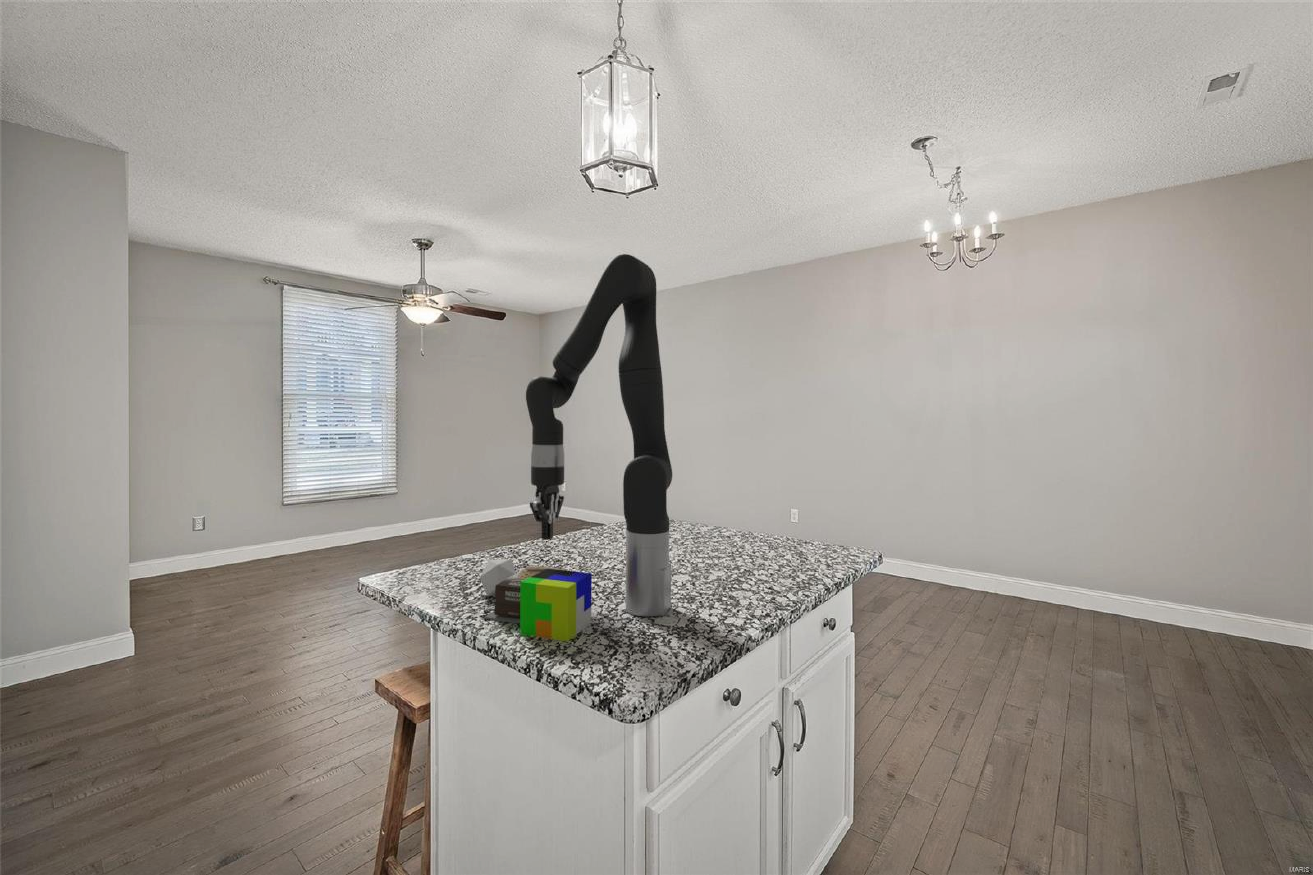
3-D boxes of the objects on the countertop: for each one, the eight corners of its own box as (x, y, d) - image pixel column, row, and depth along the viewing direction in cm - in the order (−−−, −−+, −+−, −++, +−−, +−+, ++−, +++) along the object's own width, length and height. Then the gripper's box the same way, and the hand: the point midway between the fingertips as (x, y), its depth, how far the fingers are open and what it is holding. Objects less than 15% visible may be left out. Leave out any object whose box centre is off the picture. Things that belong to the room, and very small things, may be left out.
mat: (559, 598, 122) (559, 596, 122) (524, 623, 107) (524, 621, 107) (523, 594, 125) (523, 592, 125) (484, 618, 109) (484, 617, 109)
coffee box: (566, 568, 123) (536, 589, 107) (565, 596, 123) (534, 621, 107) (529, 563, 125) (494, 584, 109) (528, 591, 125) (493, 615, 109)
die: (502, 605, 119) (526, 566, 123) (468, 585, 119) (493, 547, 123) (504, 606, 127) (527, 570, 131) (473, 588, 127) (496, 552, 131)
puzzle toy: (591, 622, 108) (591, 573, 108) (567, 641, 99) (567, 587, 98) (547, 616, 111) (547, 568, 111) (520, 634, 102) (520, 582, 101)
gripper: (549, 467, 117) (548, 546, 117) (574, 462, 129) (574, 534, 130) (518, 465, 119) (518, 544, 119) (546, 461, 131) (546, 532, 132)
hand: (547, 538), depth 125 cm, fingers closed
